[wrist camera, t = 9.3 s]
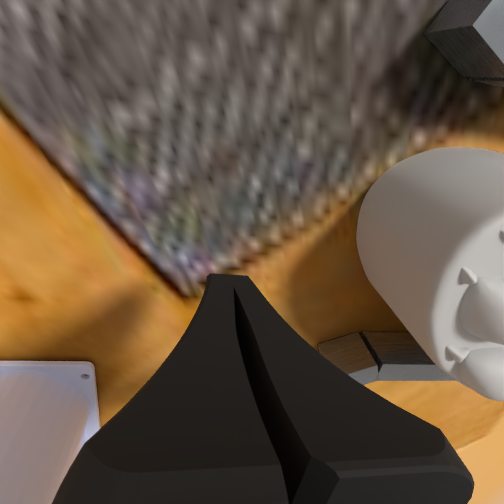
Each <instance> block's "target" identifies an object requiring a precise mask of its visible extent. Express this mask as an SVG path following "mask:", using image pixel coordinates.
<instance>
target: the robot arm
mask: <svg viewBox="0 0 504 504" xmlns="http://www.w3.org/2000/svg"><path fill="white" fill-rule="evenodd" d="M87 374H88V375H87ZM473 489H474V481H473V478H472V475H471V473H470V472H469V471H468V469H467V468H466V466H465V465H464V463H463V462H462V460H461V459H460V457H459V456H458V454H457V453H456V451H455V450H454V448H453V447H452V446H451V444H450V443H449V441H448V440H447V438H446V437H445V435H444V434H443V433H442V431H441V430H440V429H439V428H437V427H435V426H433V425H431V424H430V423H428V422H426V421H424V420H422V419H420V418H418V417H417V416H415V415H413V414H411V413H409V412H407V411H405V410H404V409H402V408H400V407H398V406H396V405H394V404H393V403H391V402H389V401H388V400H386V399H384V398H383V397H381V396H379V395H378V394H376V393H375V392H373V391H371V390H370V389H368V388H367V387H365V386H364V385H362V384H361V383H359V382H358V381H356V380H355V379H353V378H352V377H350V376H349V375H347V374H346V373H345V372H343V371H342V370H341V369H339V368H338V367H336V366H335V365H334V364H332V363H331V362H330V361H329V360H327V359H326V358H325V357H323V356H322V355H321V354H320V353H319V352H318V351H316V350H315V349H314V348H313V347H312V346H311V345H309V344H308V343H307V342H306V341H305V340H304V339H303V338H302V337H301V336H299V335H298V334H297V333H296V332H295V331H294V330H293V329H292V328H291V327H290V326H289V325H288V324H287V322H286V321H285V320H284V319H283V318H282V317H281V316H280V315H279V314H278V313H277V311H276V310H275V309H274V308H273V307H272V306H271V304H270V303H269V302H268V301H267V300H266V298H265V297H264V296H263V295H262V293H261V292H260V291H259V289H258V288H257V287H256V286H255V284H254V283H253V282H252V280H251V279H250V278H249V277H248V276H242V275H227V274H209V275H208V276H207V279H206V288H205V291H204V294H203V297H202V300H201V302H200V304H199V307H198V309H197V311H196V313H195V315H194V317H193V319H192V320H191V322H190V324H189V326H188V328H187V329H186V331H185V333H184V334H183V336H182V337H181V339H180V341H179V342H178V344H177V345H176V346H175V348H174V349H173V351H172V352H171V353H170V355H169V356H168V357H167V359H166V360H165V361H164V362H163V364H162V365H161V366H160V368H159V369H158V370H157V371H156V373H155V374H154V375H153V376H152V377H151V378H150V380H149V381H148V382H147V383H146V384H145V385H144V386H143V387H142V388H141V389H140V390H139V391H138V392H137V393H136V395H135V396H134V397H133V398H132V399H131V400H130V401H129V402H128V403H127V404H126V405H125V406H124V407H123V408H122V409H121V410H120V411H119V412H118V413H117V414H116V415H115V416H114V417H112V418H111V419H110V420H109V421H108V422H107V423H106V424H105V425H104V426H103V427H102V428H100V418H99V408H98V398H97V387H96V377H95V367H94V365H93V364H92V363H90V362H87V361H0V504H467V503H468V501H469V500H470V499H471V497H472V493H473Z"/></svg>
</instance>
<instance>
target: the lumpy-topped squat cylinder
mask: <svg viewBox="0 0 504 504" xmlns="http://www.w3.org/2000/svg"><path fill="white" fill-rule="evenodd" d="M356 242H357V249H358V253H359V257H360V260H361V263H362V266H363V269H364V272H365V274H366V276H367V278H368V280H369V282H370V283H371V284H372V286H373V287H374V288H375V289H376V291H377V292H378V293H379V294H380V296H381V297H382V298H383V299H384V301H385V302H386V303H387V305H388V306H389V307H390V308H391V310H392V311H393V312H394V313H395V315H396V316H397V317H398V318H399V320H400V321H401V322H402V323H403V325H404V326H405V327H406V328H407V330H408V331H409V332H410V333H411V335H412V336H413V337H414V338H415V340H416V341H417V342H418V344H419V345H420V346H421V347H422V349H423V350H424V351H425V352H426V354H427V355H428V356H429V357H430V358H431V360H432V361H433V362H434V363H435V364H436V365H437V366H438V367H439V368H440V369H441V370H443V371H444V372H445V373H447V374H448V375H450V376H451V377H452V378H453V379H455V380H456V381H458V382H460V383H461V384H463V385H465V386H467V387H469V388H471V389H473V390H474V391H476V392H477V393H479V394H480V395H482V396H484V397H486V398H489V399H492V400H496V401H504V153H500V152H497V151H493V150H489V149H483V148H473V147H443V148H436V149H432V150H428V151H425V152H422V153H419V154H416V155H413V156H411V157H409V158H406V159H404V160H402V161H400V162H398V163H397V164H395V165H393V166H392V167H390V168H389V169H388V170H386V171H385V172H384V173H383V174H382V175H381V176H380V177H379V178H378V179H377V180H376V181H375V182H374V184H373V185H372V186H371V188H370V189H369V191H368V192H367V194H366V196H365V198H364V200H363V203H362V206H361V209H360V212H359V217H358V223H357V234H356Z"/></svg>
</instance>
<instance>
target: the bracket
mask: <svg viewBox="0 0 504 504" xmlns="http://www.w3.org/2000/svg"><path fill="white" fill-rule="evenodd" d="M424 35H425V36H426V37H427V38H428V39H429V40H430V41H431V43H432V44H433V45H434V46H435V47H436V48H437V49H438V50H439V51H440V53H441V54H442V55H443V56H444V57H445V58H446V59H447V60H448V61H449V62H450V64H451V65H452V66H453V67H454V68H455V69H456V70H457V71H458V72H459V74H460V75H461V76H462V77H469V79H468V80H470V81H474V82H479V83H484V84H489V85H493V86H498V87H503V88H504V0H448V2H447V3H446V4H445V6H444V7H443V8H442V10H441V11H440V12H439V14H438V15H437V16H436V18H435V19H434V20H433V22H432V23H431V24H430V26H429V27H428V28H427V30H426V31H425V32H424ZM317 345H318V349H319V353H320V354H321V355H322V356H323V357H325V358H326V359H327V360H329V361H330V362H331V363H332V364H334V365H335V366H336V367H338V368H339V369H341V370H342V371H343V372H345V373H346V374H347V375H349V376H350V377H352V378H353V379H355V380H356V381H358V382H359V383H361V384H362V385H364V384H368V383H371V382H374V381H442V380H455V379H453V378H452V377H451V376H450V375H448V374H447V373H445V372H444V371H443V370H441V369H440V368H439V367H438V366H437V365H436V364H435V363H434V362H433V361H432V360H431V358H430V357H429V356H428V355H427V354H426V352H425V351H424V350H423V349H422V347H421V346H420V345H419V344H418V342H417V341H416V340H415V338H414V337H413V336H412V335H411V333H403V332H370V331H362V334H361V336H360V335H359V334H358V332H356V333H353V334H350V335H346V336H343V337H340V338H337V339H333V340H330V341H327V342H324V343H320V344H317Z"/></svg>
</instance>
